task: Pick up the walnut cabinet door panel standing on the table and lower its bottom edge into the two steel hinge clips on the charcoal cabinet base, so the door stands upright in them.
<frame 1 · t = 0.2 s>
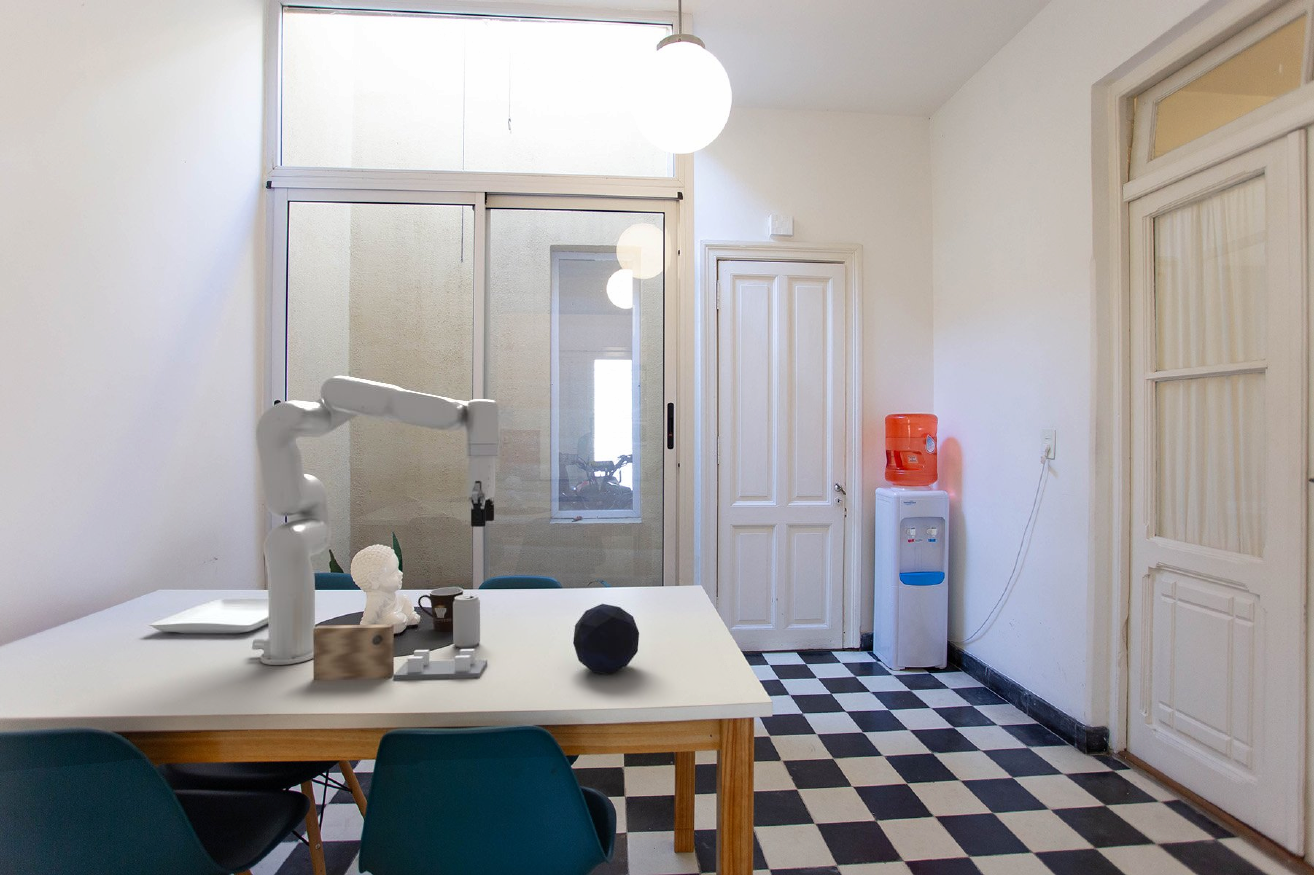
hand: (482, 523, 151), 31 cm above the table, fingers open, 9 cm apart
hinge base: (441, 671, 139), on the table
square plate: (234, 623, 178), on the table
coffee mug: (442, 628, 172), on the table
beverage can: (466, 645, 157), on the table
decorative orb: (606, 670, 140), on the table
door panel: (354, 677, 137), on the table
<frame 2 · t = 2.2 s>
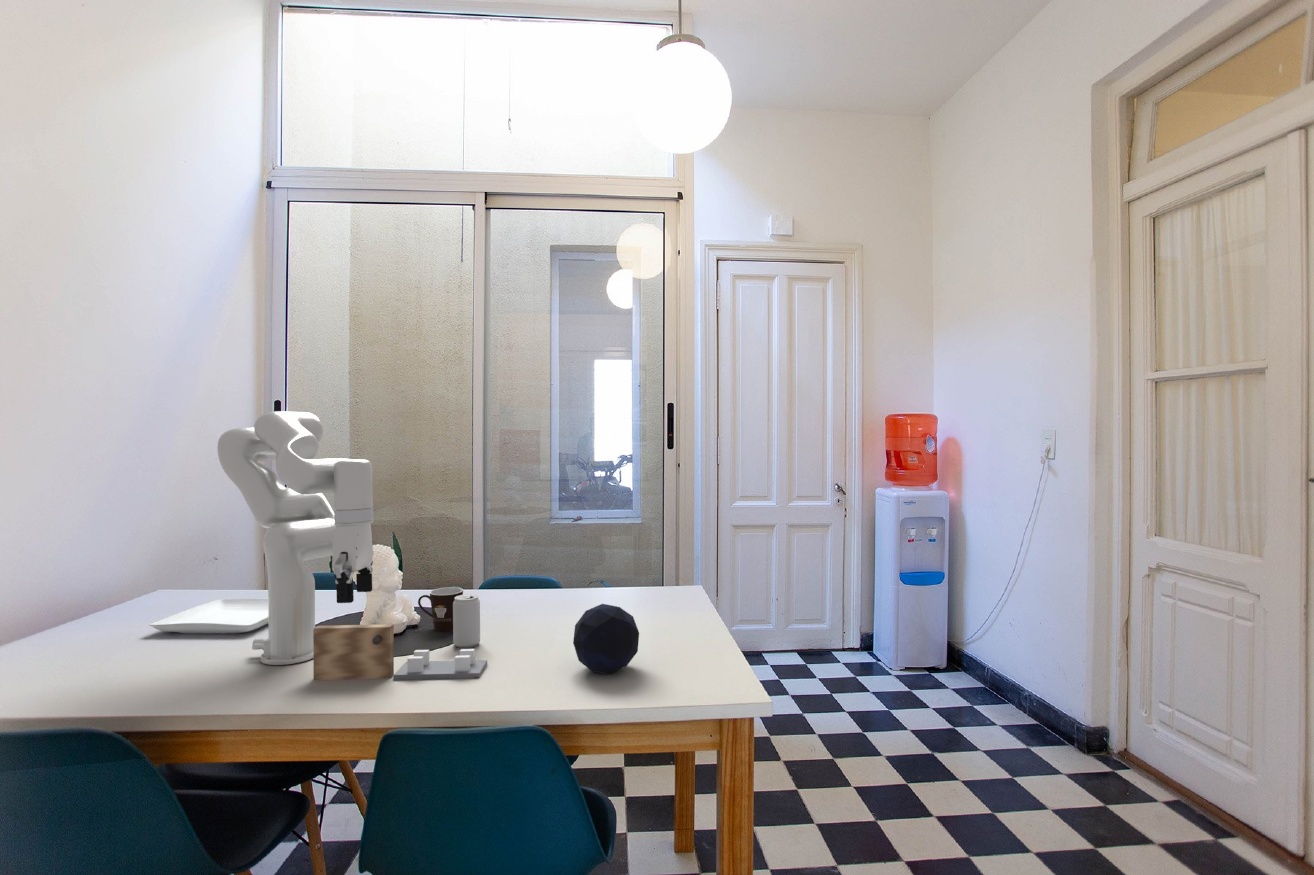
hand: (355, 596, 136), 17 cm above the table, fingers open, 9 cm apart
nothing on the table moved.
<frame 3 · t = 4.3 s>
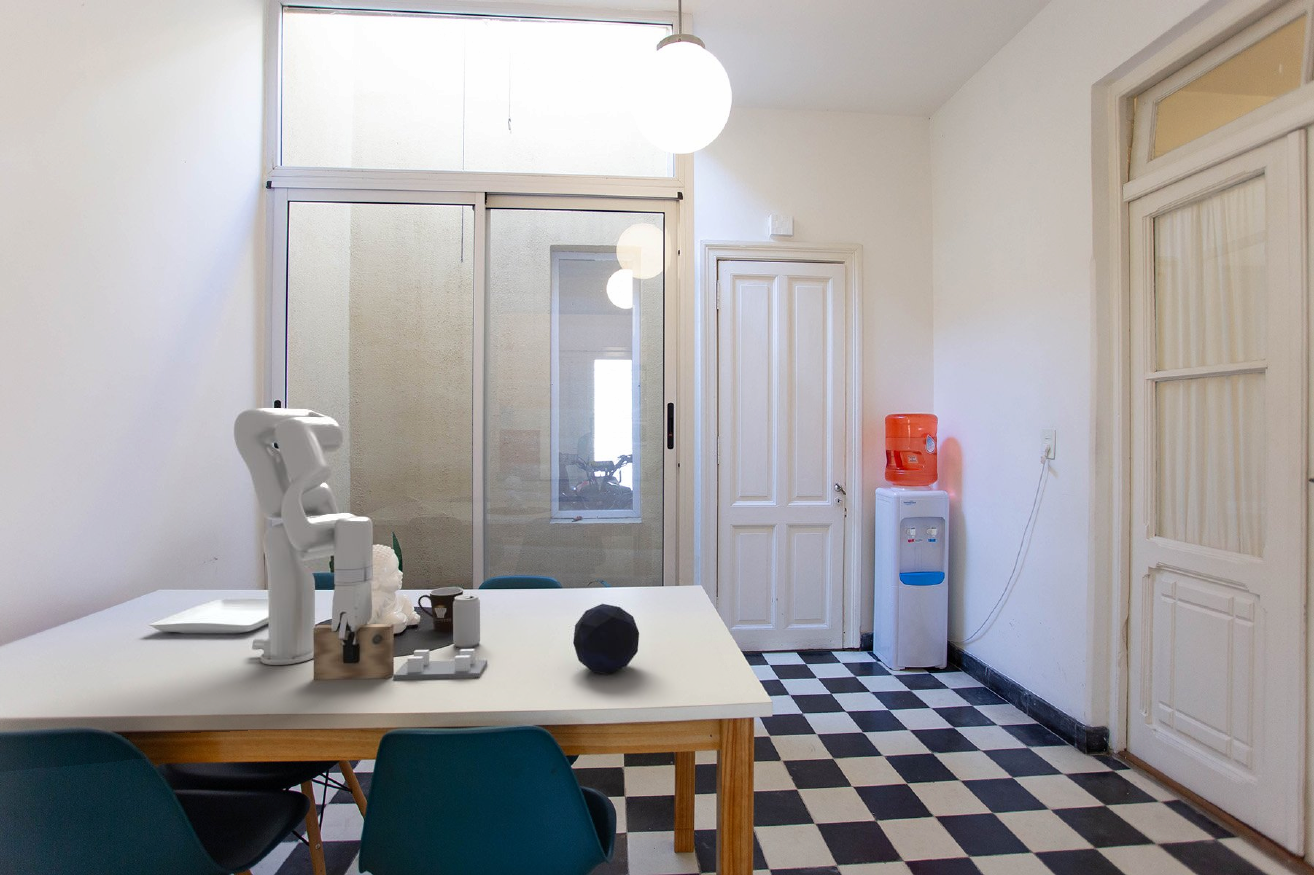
hand: (354, 659, 136), 4 cm above the table, fingers closed on door panel, 2 cm apart
door panel: (354, 677, 136), on the table, touching gripper
everything else where it was.
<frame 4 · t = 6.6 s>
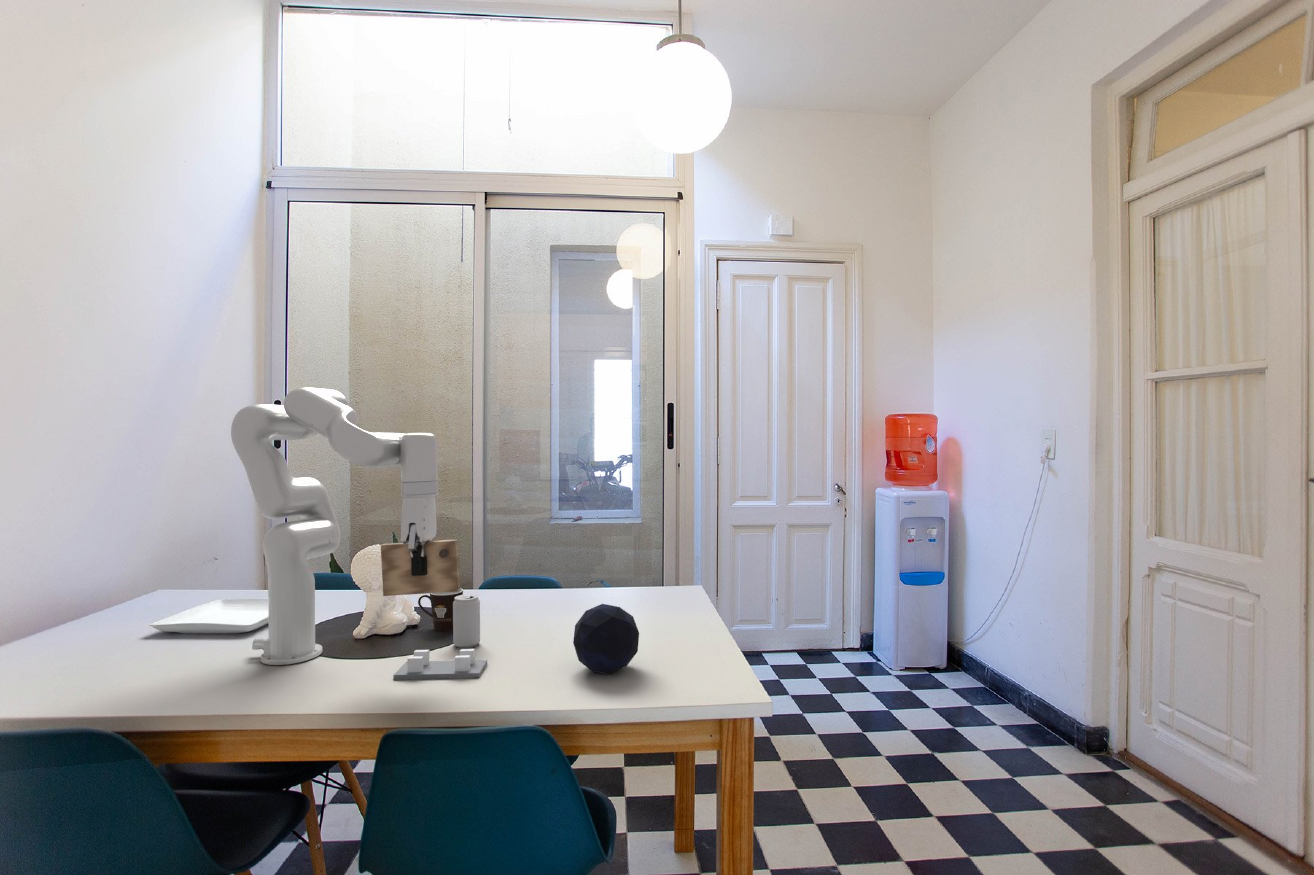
hand: (421, 573, 138), 22 cm above the table, fingers closed on door panel
door panel: (422, 592, 138), point 18 cm above the table, touching gripper
everything else where it was.
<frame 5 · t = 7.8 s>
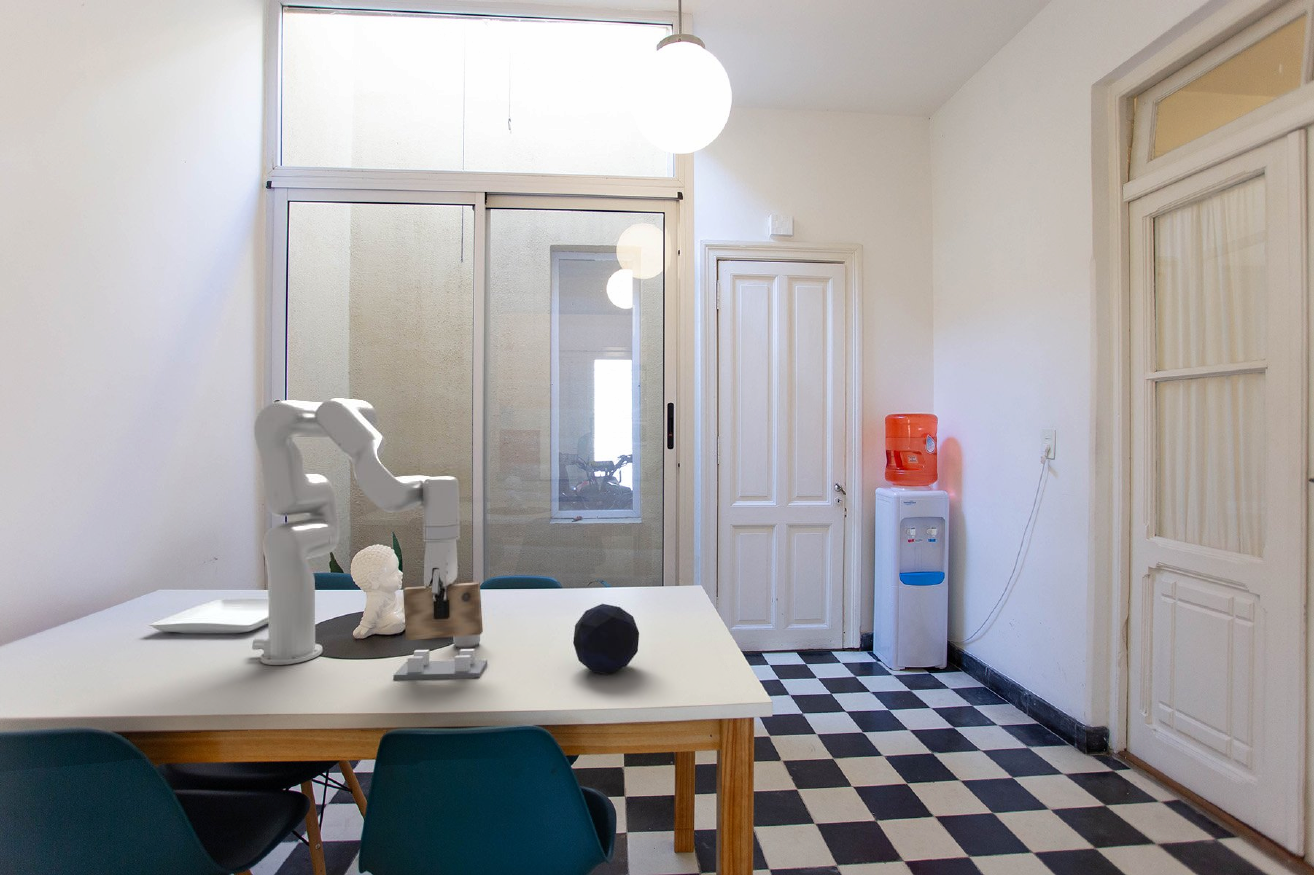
hand: (443, 616, 139), 12 cm above the table, fingers closed on door panel
door panel: (444, 635, 139), point 8 cm above the table, touching gripper
everything else where it was.
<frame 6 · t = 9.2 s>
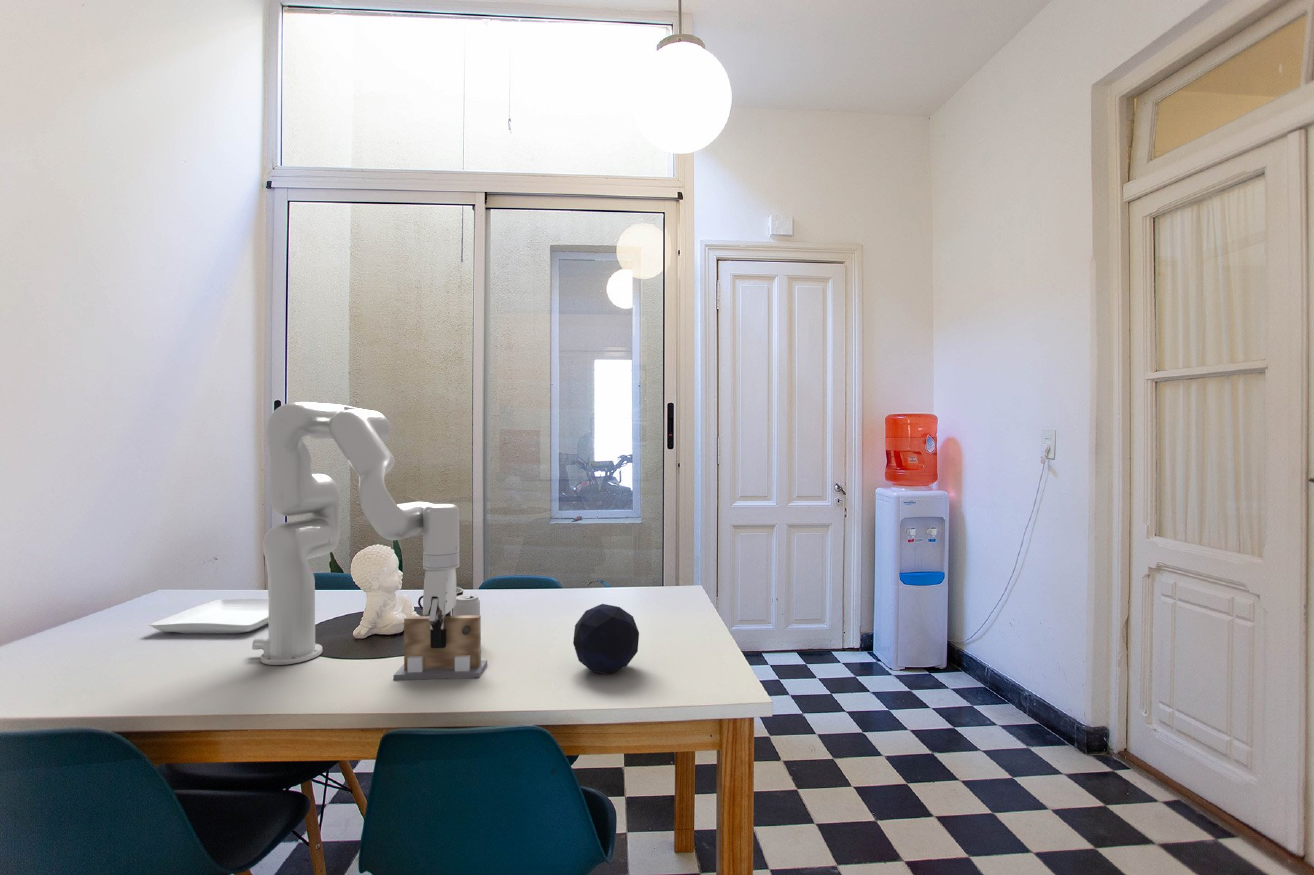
hand: (441, 643, 139), 6 cm above the table, fingers open, 4 cm apart
door panel: (442, 667, 139), point 1 cm above the table, touching hinge base
everything else where it was.
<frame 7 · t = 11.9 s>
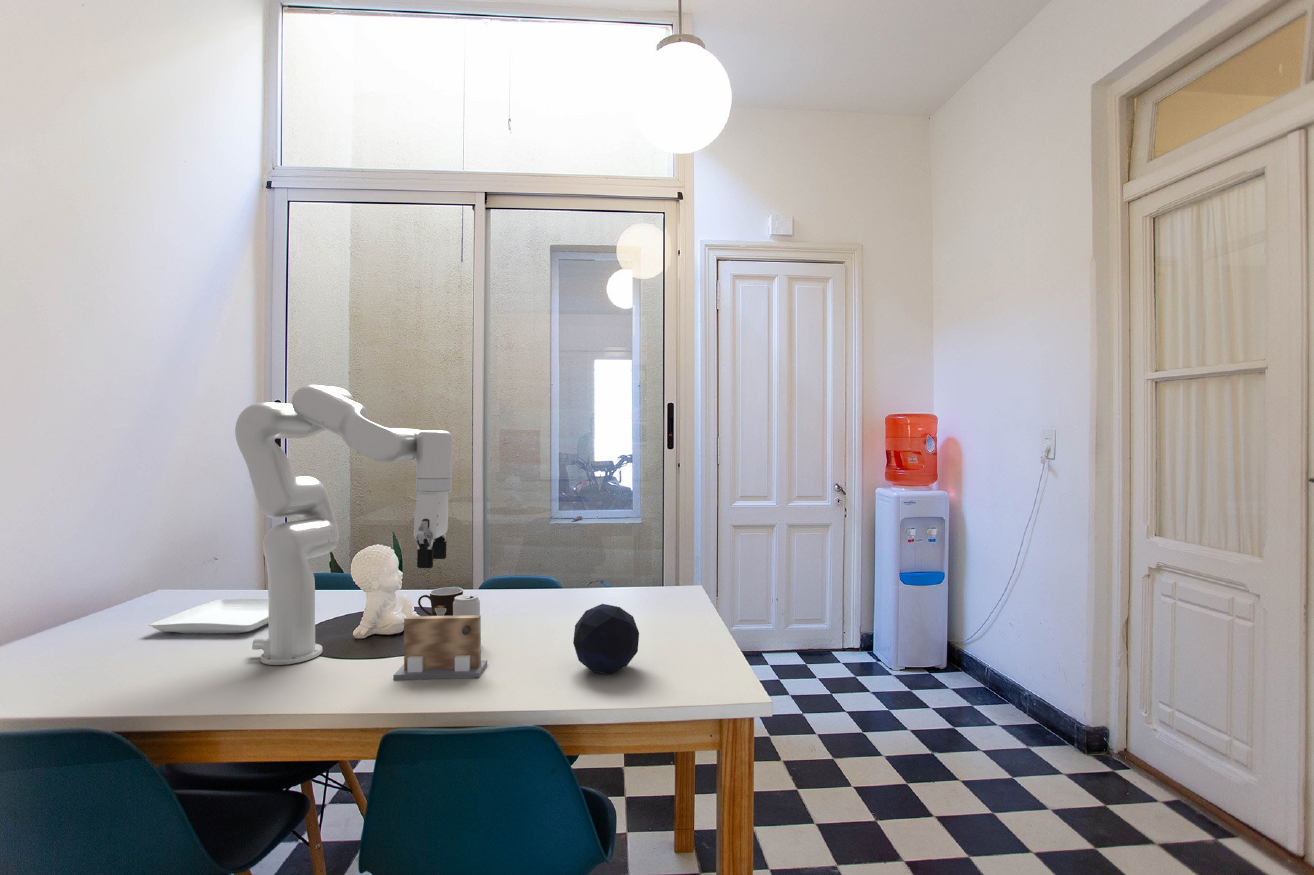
hand: (432, 563, 141), 24 cm above the table, fingers open, 9 cm apart
nothing on the table moved.
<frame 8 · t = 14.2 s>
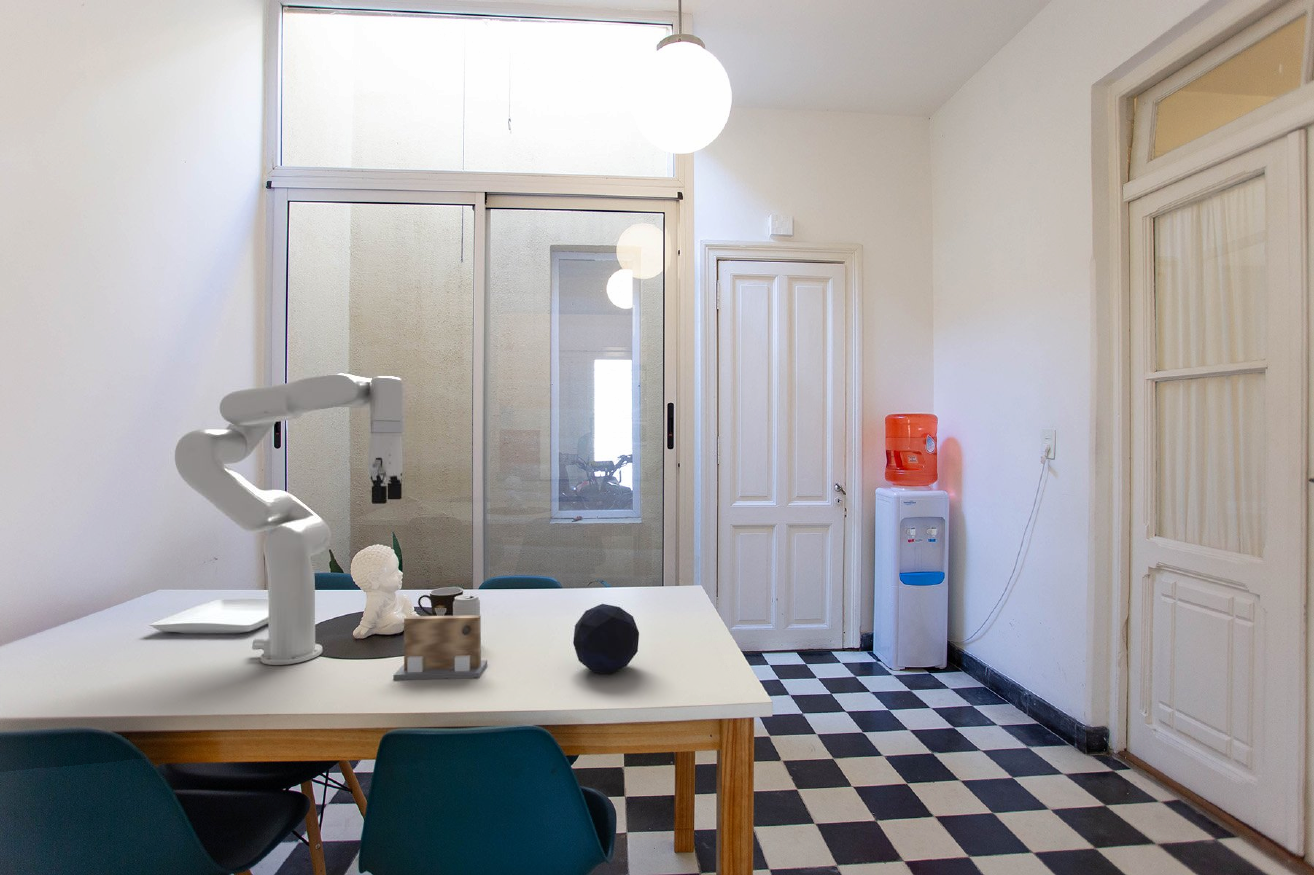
hand: (387, 501, 151), 36 cm above the table, fingers open, 9 cm apart
nothing on the table moved.
at the end: door panel 0.2 cm off-centre on the hinge base, point 1.0 cm above the hinge base's base; door panel tilted 0°; the gripper is holding nothing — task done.
